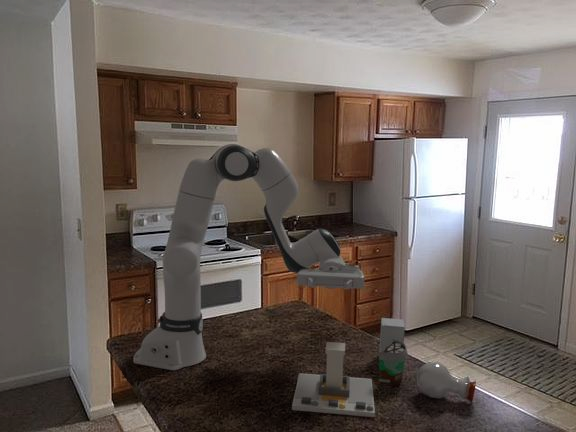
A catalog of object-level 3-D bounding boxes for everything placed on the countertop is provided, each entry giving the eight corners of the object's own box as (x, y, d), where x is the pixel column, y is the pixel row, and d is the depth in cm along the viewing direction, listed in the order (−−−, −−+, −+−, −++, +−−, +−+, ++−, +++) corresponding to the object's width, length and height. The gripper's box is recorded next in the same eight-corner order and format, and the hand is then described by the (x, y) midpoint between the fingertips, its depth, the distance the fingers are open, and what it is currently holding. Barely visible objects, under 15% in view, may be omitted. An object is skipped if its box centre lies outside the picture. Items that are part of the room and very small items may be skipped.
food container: (398, 391, 130) (400, 357, 129) (377, 385, 134) (378, 352, 132) (411, 374, 141) (413, 343, 140) (392, 369, 144) (393, 338, 143)
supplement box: (403, 365, 147) (405, 327, 145) (378, 363, 148) (380, 325, 147) (402, 356, 154) (404, 319, 152) (379, 353, 155) (381, 317, 154)
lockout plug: (324, 392, 127) (325, 349, 125) (325, 383, 132) (326, 341, 130) (343, 393, 126) (345, 350, 125) (343, 384, 131) (345, 343, 130)
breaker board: (291, 409, 120) (292, 398, 120) (299, 377, 138) (299, 366, 137) (374, 417, 118) (375, 405, 117) (371, 382, 135) (371, 372, 135)
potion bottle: (413, 393, 132) (469, 412, 127) (412, 388, 124) (472, 407, 118) (420, 361, 136) (475, 378, 130) (420, 354, 128) (478, 371, 122)
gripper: (298, 262, 148) (293, 273, 135) (363, 265, 146) (365, 277, 132) (298, 281, 149) (293, 294, 135) (363, 285, 146) (364, 298, 133)
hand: (329, 286), depth 134 cm, fingers open, 8 cm apart
